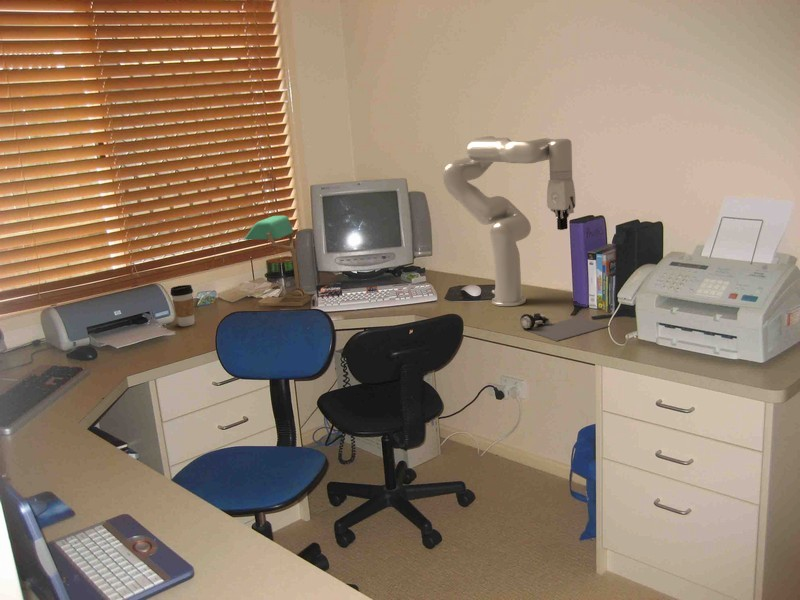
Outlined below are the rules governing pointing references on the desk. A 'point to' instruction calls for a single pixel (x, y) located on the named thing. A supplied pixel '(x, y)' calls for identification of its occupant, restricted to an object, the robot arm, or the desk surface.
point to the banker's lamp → (275, 230)
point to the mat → (567, 328)
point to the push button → (533, 321)
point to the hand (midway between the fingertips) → (562, 229)
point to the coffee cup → (183, 304)
